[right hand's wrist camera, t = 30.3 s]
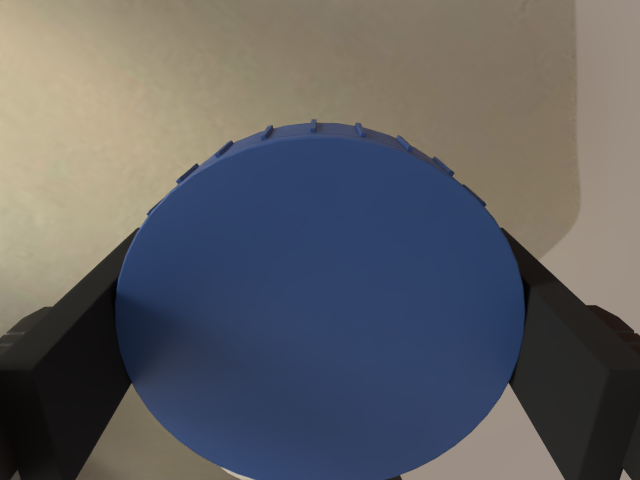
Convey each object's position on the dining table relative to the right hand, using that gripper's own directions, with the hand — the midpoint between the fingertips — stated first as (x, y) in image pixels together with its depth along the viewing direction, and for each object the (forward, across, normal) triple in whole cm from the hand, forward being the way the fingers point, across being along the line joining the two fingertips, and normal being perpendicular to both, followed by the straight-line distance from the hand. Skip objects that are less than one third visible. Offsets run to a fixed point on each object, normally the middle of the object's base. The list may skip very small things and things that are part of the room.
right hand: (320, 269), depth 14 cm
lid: (-3, 0, 0) cm, 3 cm away
